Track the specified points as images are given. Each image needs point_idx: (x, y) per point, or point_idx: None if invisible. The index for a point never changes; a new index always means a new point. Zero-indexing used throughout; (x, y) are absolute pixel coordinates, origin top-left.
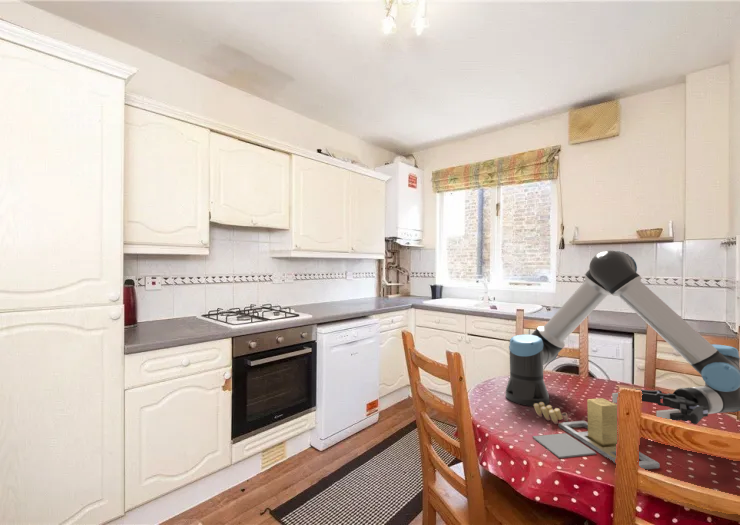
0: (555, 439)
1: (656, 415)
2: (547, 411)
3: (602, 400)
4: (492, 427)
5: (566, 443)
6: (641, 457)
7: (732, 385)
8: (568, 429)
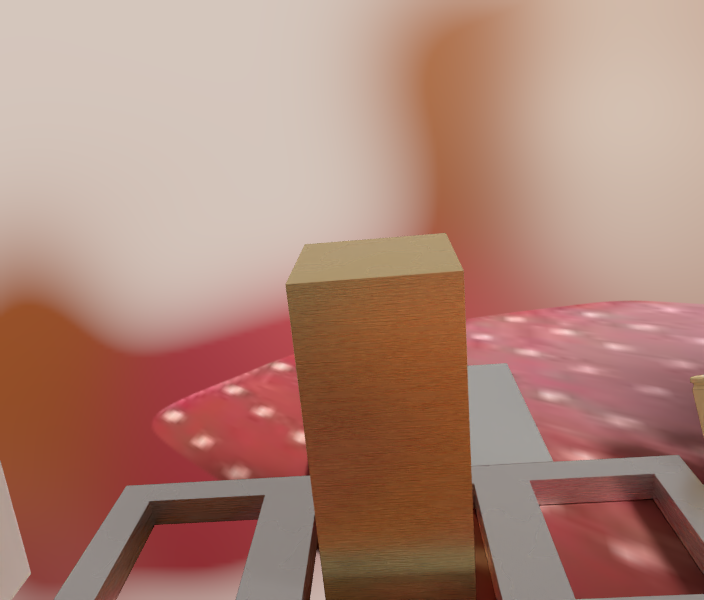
0: (472, 406)
1: (11, 508)
2: None
3: (405, 262)
4: (597, 316)
5: None
6: None
7: None
8: (576, 463)
